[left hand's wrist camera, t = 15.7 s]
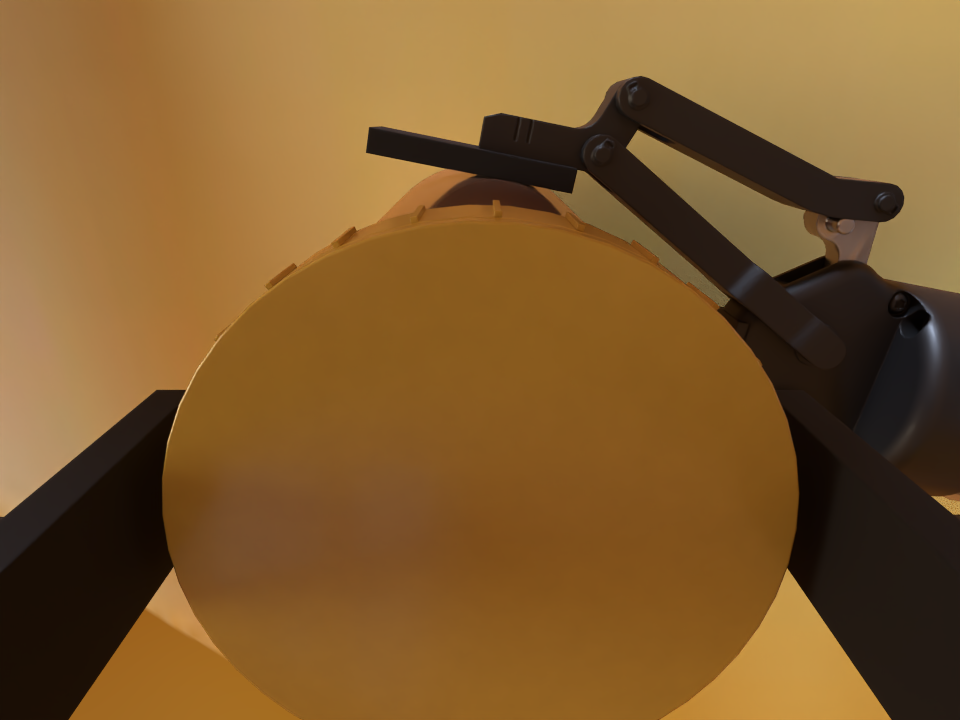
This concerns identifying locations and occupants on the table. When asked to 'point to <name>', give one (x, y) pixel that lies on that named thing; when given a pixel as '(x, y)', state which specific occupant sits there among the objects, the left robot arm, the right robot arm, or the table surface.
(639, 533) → the lid
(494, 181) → the jar
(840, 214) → the right robot arm
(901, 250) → the table surface
